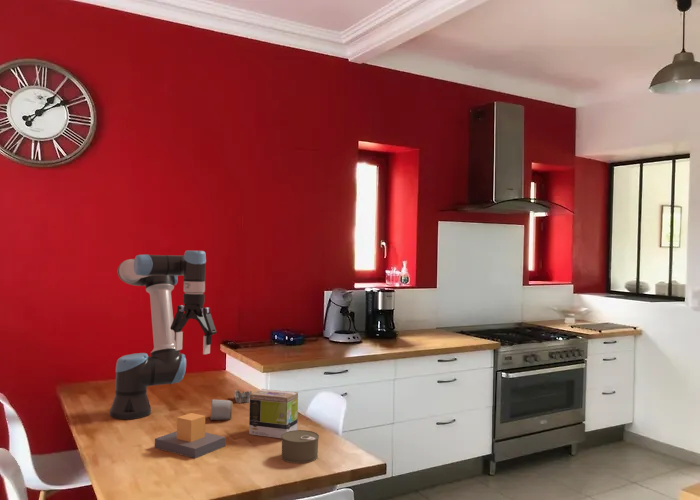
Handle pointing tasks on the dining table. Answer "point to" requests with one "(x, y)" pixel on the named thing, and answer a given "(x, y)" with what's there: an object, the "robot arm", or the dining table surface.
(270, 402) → the tea box
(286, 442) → the can
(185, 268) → the robot arm
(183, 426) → the orange toy cube
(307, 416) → the dining table surface
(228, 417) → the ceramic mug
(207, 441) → the dark gray slab
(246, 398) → the egg carton
